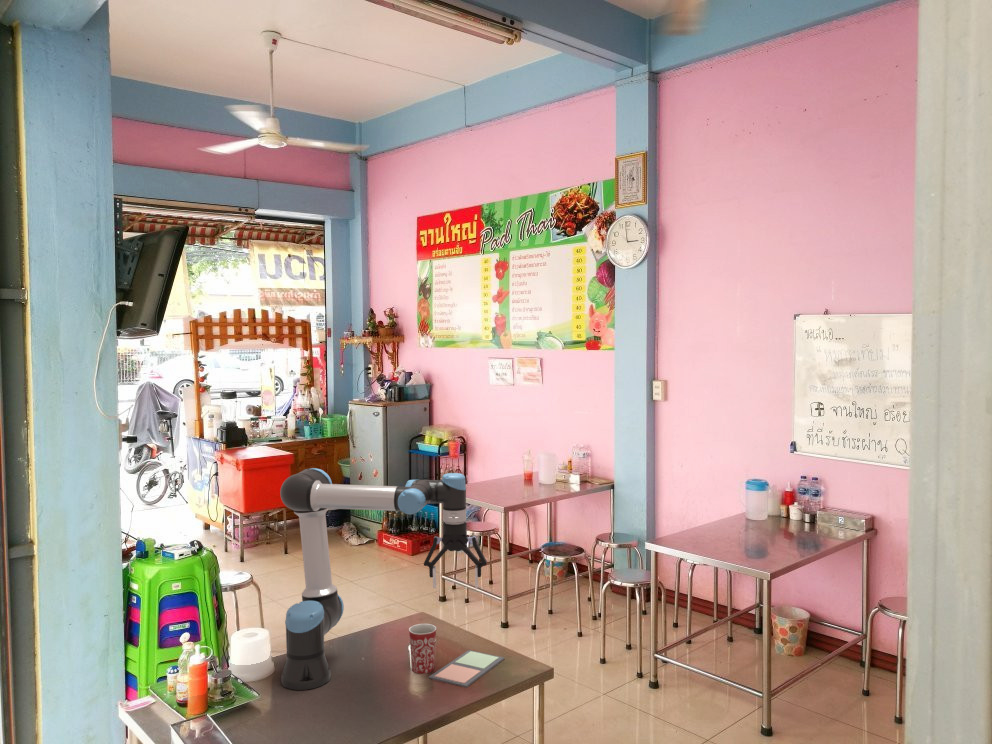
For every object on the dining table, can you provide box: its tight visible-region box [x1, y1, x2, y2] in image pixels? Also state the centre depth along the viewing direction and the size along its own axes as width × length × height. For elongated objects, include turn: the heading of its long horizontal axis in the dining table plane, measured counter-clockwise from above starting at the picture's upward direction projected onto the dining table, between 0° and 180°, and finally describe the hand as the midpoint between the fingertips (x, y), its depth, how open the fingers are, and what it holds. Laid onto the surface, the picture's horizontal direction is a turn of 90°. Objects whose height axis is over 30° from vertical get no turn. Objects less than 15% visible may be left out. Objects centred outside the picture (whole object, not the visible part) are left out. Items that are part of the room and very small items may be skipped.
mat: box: [428, 649, 505, 689], centre depth 250 cm, size 14×24×1 cm, turn 151°
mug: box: [408, 623, 437, 675], centre depth 252 cm, size 13×9×14 cm
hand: (455, 587), depth 249 cm, fingers open, 13 cm apart
